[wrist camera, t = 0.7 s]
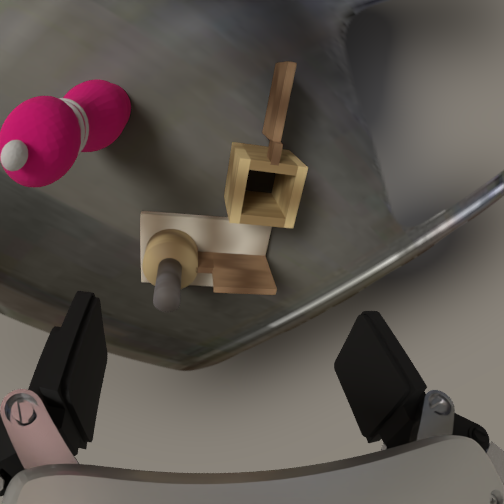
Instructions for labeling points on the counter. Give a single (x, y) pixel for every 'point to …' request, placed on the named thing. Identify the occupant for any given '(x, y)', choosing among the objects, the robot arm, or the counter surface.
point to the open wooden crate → (267, 166)
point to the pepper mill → (61, 131)
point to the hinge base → (202, 256)
